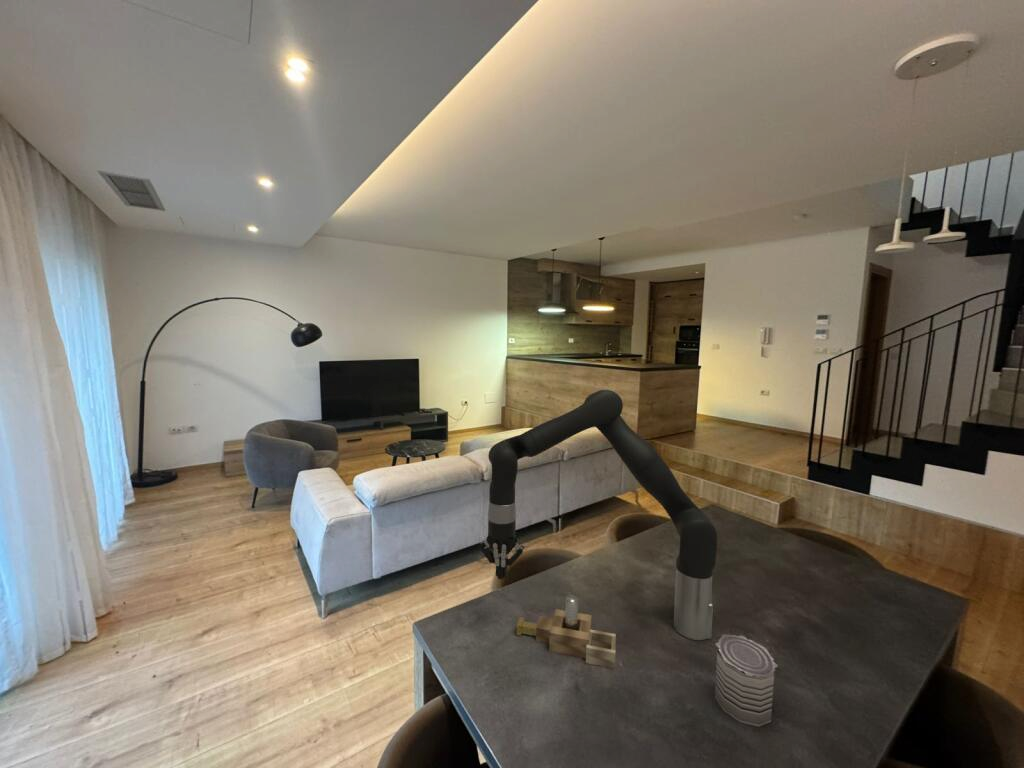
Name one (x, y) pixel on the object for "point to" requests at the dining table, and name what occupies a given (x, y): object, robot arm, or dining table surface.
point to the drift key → (526, 627)
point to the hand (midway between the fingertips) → (501, 577)
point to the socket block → (564, 634)
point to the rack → (601, 649)
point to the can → (744, 679)
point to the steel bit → (571, 612)
